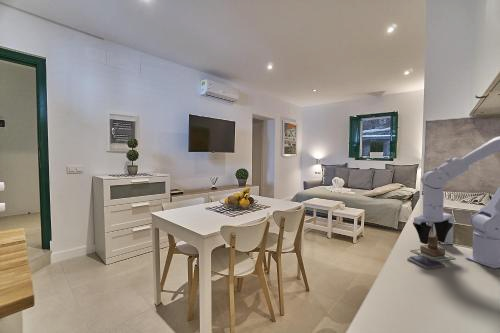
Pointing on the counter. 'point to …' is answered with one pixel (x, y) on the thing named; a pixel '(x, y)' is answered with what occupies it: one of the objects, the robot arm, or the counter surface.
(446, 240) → the skincare box
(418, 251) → the pale green flat square
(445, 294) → the counter surface
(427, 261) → the ink pad
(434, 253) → the stamp
